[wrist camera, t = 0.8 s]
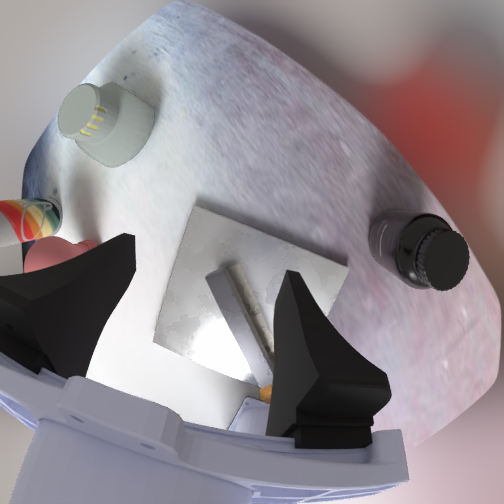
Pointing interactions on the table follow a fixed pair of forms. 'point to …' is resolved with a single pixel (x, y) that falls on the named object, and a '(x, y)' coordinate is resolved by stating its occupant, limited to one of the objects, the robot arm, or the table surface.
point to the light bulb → (53, 252)
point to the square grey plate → (246, 281)
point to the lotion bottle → (28, 220)
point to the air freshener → (106, 122)
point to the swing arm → (242, 329)
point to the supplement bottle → (419, 249)
